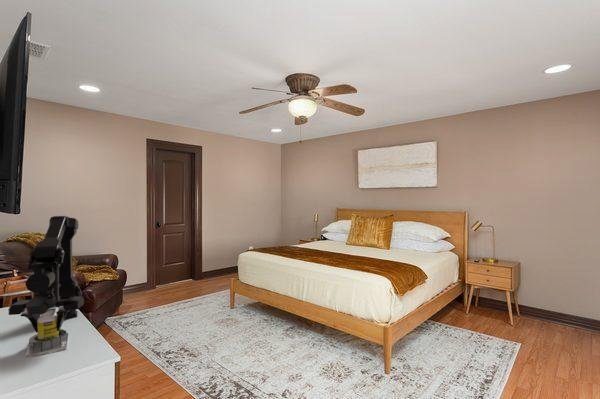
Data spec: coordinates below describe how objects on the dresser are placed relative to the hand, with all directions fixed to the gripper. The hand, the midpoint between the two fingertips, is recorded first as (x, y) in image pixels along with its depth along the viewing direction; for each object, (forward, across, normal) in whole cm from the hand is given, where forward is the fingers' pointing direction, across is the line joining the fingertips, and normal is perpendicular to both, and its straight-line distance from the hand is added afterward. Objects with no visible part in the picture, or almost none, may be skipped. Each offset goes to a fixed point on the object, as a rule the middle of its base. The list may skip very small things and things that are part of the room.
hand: (48, 331), depth 104 cm
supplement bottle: (+3, 0, 0) cm, 3 cm away
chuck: (+5, 0, 0) cm, 5 cm away
